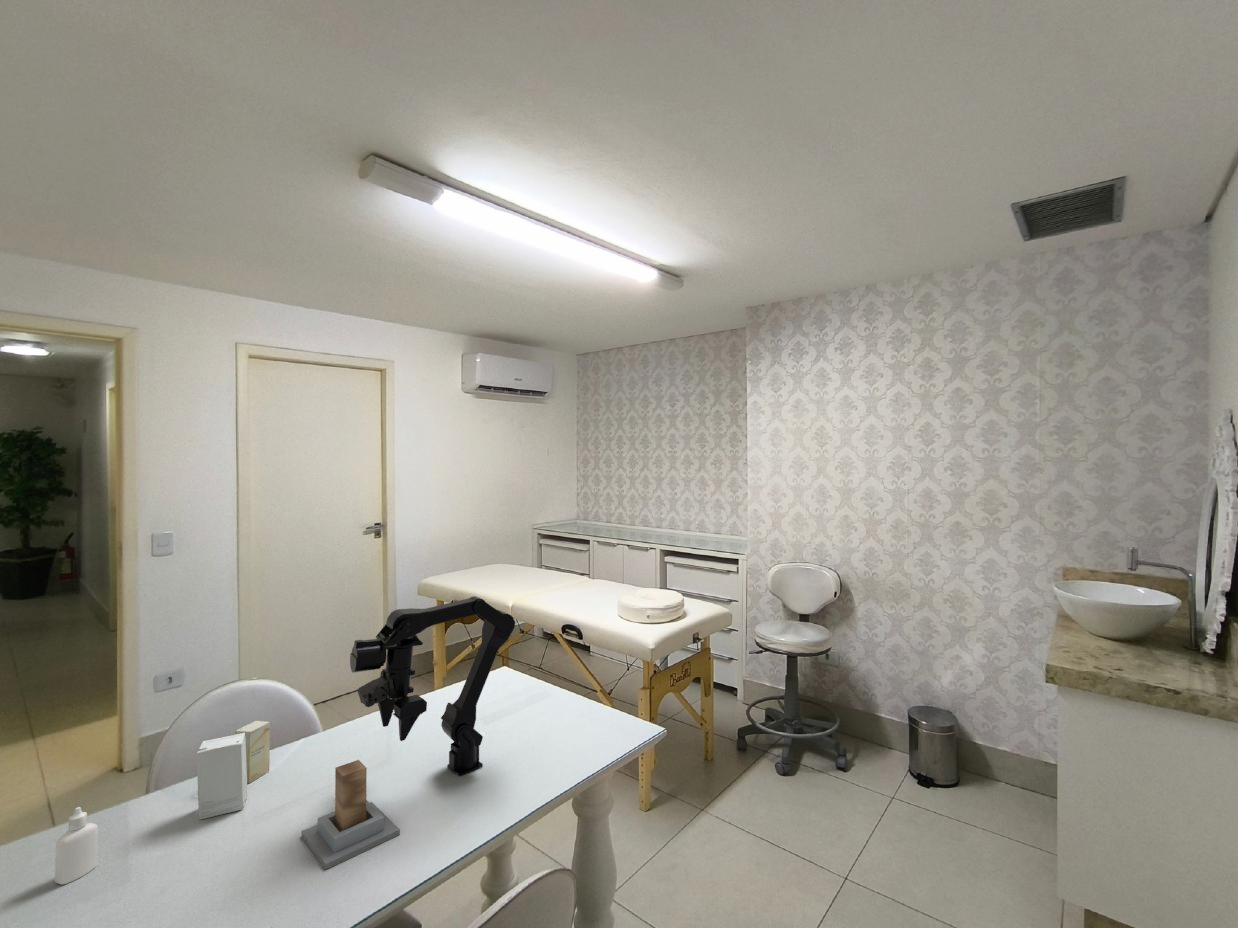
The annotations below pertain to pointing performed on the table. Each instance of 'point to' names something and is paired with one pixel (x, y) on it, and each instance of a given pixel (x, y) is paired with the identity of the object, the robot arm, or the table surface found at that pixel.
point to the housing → (348, 836)
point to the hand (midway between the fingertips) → (393, 733)
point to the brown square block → (350, 795)
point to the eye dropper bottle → (76, 849)
